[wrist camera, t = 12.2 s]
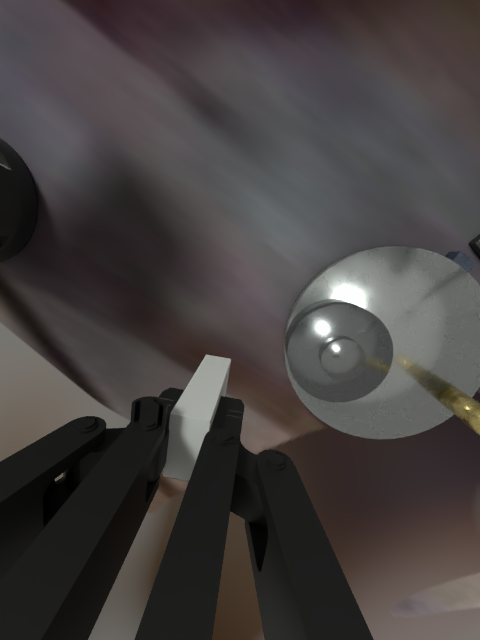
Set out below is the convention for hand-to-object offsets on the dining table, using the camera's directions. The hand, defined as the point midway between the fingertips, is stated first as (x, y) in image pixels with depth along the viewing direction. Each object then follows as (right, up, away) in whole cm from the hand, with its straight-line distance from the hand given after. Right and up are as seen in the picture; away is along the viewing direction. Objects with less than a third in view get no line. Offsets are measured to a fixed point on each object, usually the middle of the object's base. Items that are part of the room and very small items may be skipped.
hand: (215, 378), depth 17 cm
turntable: (+18, +1, +17) cm, 24 cm away
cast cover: (+12, +1, +15) cm, 19 cm away
